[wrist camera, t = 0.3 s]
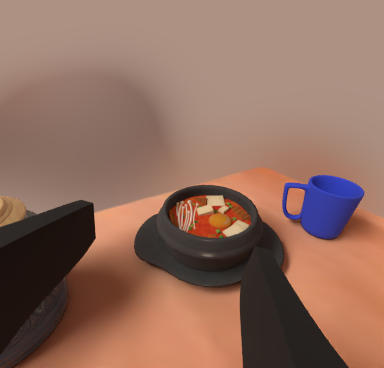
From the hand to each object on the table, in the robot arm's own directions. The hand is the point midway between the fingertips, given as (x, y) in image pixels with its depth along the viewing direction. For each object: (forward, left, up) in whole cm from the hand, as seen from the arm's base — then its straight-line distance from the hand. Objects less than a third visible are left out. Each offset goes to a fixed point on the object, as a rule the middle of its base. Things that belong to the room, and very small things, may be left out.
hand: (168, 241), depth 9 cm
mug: (+29, -19, -21) cm, 41 cm away
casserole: (+20, 0, -21) cm, 29 cm away
